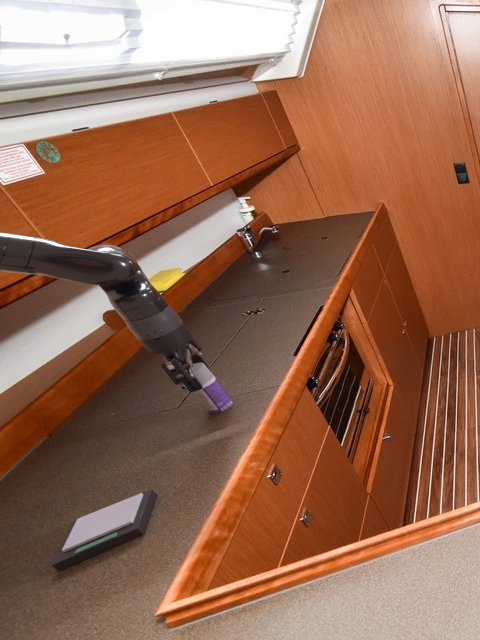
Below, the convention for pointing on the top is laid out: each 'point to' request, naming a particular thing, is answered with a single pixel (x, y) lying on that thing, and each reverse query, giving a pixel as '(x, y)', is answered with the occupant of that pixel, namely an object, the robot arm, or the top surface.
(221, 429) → the top surface
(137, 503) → the scale
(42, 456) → the top surface
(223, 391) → the container
